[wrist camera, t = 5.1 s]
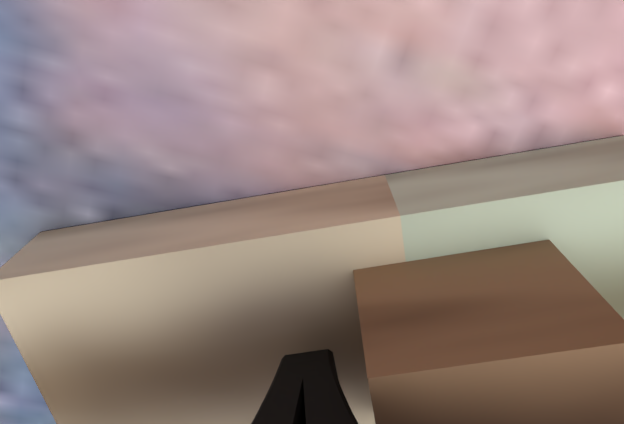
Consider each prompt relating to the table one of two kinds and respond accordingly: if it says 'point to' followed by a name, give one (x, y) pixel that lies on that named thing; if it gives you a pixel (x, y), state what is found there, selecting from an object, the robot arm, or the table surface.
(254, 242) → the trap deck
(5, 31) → the table surface
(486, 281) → the walnut block
